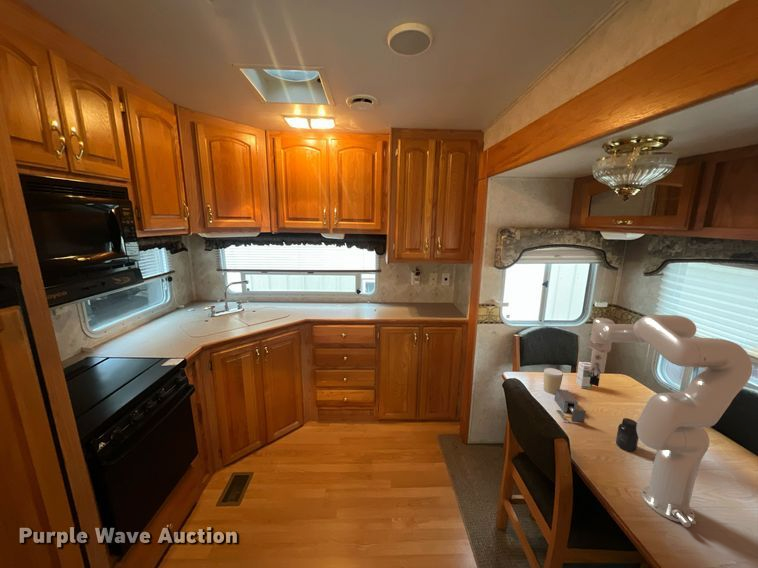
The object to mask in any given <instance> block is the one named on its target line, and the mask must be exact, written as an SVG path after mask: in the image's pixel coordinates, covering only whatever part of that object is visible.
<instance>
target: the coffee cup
mask: <svg viewBox="0 0 758 568" xmlns="http://www.w3.org/2000/svg"><path fill="white" fill-rule="evenodd" d="M563 377H564V374H563V371H561V370H559V369H556V368H552V367H545V368H544V370H543V391H544V392H546V393H548V394H551V395H555V392H556V389H559V390H561V386H562V382H563V381H562V380H563Z"/></svg>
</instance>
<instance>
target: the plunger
mask: <svg viewBox="0 0 758 568" xmlns="http://www.w3.org/2000/svg"><path fill="white" fill-rule="evenodd" d="M567 409H569V410H570V412H571V416H570V415H564V418H566V419H571V420H570V421H571V422H573V423H582V424H585V420H586V418H585V417H586V410H583V409H577V410H576V409H574V408H573V406H572V405H571V404H570V403H568V407H567Z"/></svg>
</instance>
